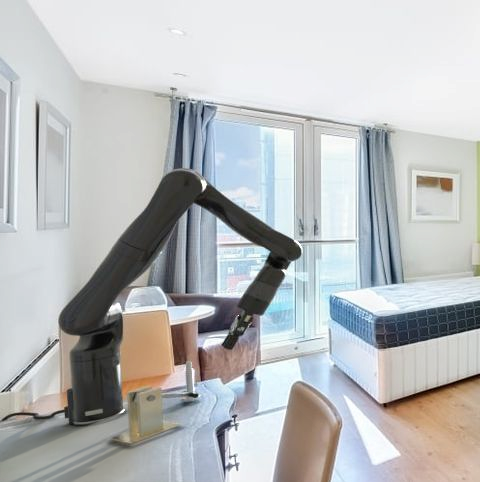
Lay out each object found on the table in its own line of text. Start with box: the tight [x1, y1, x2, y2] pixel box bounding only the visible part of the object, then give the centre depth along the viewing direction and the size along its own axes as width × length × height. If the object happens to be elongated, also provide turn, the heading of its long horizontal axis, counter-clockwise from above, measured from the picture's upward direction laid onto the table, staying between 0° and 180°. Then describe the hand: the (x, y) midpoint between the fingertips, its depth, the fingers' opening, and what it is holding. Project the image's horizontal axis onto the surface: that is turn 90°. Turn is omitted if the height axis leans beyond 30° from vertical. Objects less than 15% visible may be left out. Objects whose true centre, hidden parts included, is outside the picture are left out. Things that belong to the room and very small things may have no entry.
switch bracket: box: [110, 385, 182, 445], centre depth 108 cm, size 10×8×12 cm
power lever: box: [134, 390, 199, 402], centre depth 112 cm, size 12×5×2 cm, turn 161°
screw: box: [179, 360, 202, 404], centre depth 127 cm, size 13×5×5 cm
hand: (225, 348), depth 127 cm, fingers open, 8 cm apart
